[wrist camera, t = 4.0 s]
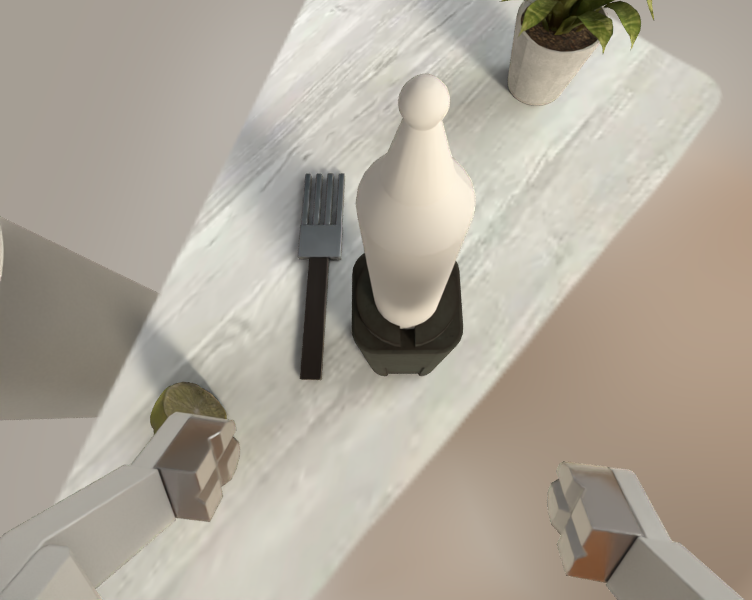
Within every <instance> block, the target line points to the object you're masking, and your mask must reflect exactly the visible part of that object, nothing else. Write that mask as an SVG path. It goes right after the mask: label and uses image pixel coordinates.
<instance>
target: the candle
mask: <svg viewBox="0 0 752 600" xmlns="http://www.w3.org/2000/svg"><path fill="white" fill-rule="evenodd" d="M449 105H450V96H449V92H448V89H447V87H446V85H445V84H444V83H443V82H442V81H441V80H440V79H439V78H437V77H436V76H434V75H431V74H420V75H417V76H415V77H413V78H412V79H410V80H409V81H408V82H407V83H406V84H405V85H404V86H403V88H402V90H401V92H400V94H399V99H398V107H399V111H400V113H401V115H402V117H403V119H402V121H401V123H400V125H399V128H398V130H397V132H396V134H395V137H394V139H393V141H392V143H391V145H390V148H389V150H388V152H387V153H386V154H384V155H383V156H382V157H380V158H379V159H377V160H376V161H375V162H373V164H372V165H371V166H370V167H369V168H368V169H367V171H366V172H365V173H364V175H363V177H362V179H361V181H360V184H359V186H358V191H357V197H356V210H357V217H358V222H359V227H360V232H361V236H362V241H363V246H364V251H365V253H364V254H363V255H361V256H360V257H359V258H358V260H357V261H356V263H355V265H354V267H353V273H352V335H353V338H354V340H355V342H356V344H357V346H358V347H359V349H360V350H361V352H362V353H363V355H364V357H365V358H366V360H367V361H368V363H369V364H370V366H371V368H372V369H373V370H374V372H376V373H377V374H379V375H381V376H387V375H388V374H416V373H417V374H419V376H424V375H427V374H429V373H430V372H431V371H432V370H433V369H434V368H435V367H436V366H437V365H438V364H439V363H440V362H441V361H442V360H443V359H444V358H445V357H446V356H447V355H448V354H449V353H450V352H451V351H452V350H453V349H454V348H455V347H456V346H457V344H458V343H459V341H460V340H461V337H462V334H463V317H462V303H461V288H460V273H459V267H458V264H457V262H456V259H457V256H458V254H459V251H460V249H461V246H462V244H463V241H464V239H465V237H466V234H467V232H468V229H469V227H470V224H471V221H472V219H473V216H474V213H475V192H474V188H473V184H472V181H471V179H470V177H469V175H468V174H467V172H466V170H465V169H464V168H463V167H462V166H461V165H460V164H459V163H458V162H457V161H456V160H455V159H454V158H453V157H452V156H451V152H450V148H449V144H448V141H447V137H446V133H445V129H444V125H443V122H442V119H443V118H444V117H445V115H446V114H447V112H448V109H449Z"/></svg>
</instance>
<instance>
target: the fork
mask: <svg viewBox="0 0 752 600" xmlns="http://www.w3.org/2000/svg"><path fill="white" fill-rule="evenodd" d="M311 186H312V176H311V174H305V186H304V197H303V208H302V220H301V225H300V236H299V248H298V258H299V259H309V270H308V283H307V295H306V308H305V320H304V333H303V346H302V358H301V371H300V379H301V380H322V368H323V352H324V336H325V320H326V305H327V289H328V273H329V260H341V253H342V235H343V227H342V225H343V207H344V189H345V175H344V173H341V174H339V180H338V196H337V213H336V225H331V218H332V202H333V187H334V175H333V174H328V177H327V191H326V206H325V220H324V225H320V213H321V200H322V186H323V176H322V174H317V175H316V188H315V201H314V214H313V225H308V223H309V210H310V198H311Z"/></svg>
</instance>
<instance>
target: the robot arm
mask: <svg viewBox="0 0 752 600" xmlns="http://www.w3.org/2000/svg"><path fill="white" fill-rule="evenodd" d="M235 432H236V426H235V422H234V421H233V420H228V419H222V418H215V417H209V416H202V415H196V414H188V413H181V412H175V413H173V414H172V415H170V416H169V417H168V418H167V420H166V421H165V422H164V423H163V425H162V426H161V427H160V428H159V430H158V431H157V432H156V433H155V435H154V436H153V437H152V438H151V440H150V441H149V442H148V443H147V445H146V446H145V447H144V448H143V450H142V451H141V452H140V454H139V455H138V456H137V457H136V459H135V460H134V461H133V462H132V464H131V465H123V466H121V467H119V468H118V469H116V470H114V471H112V472H111V473H109V474H107V475H105V476H104V477H102V478H100V479H98V480H97V481H95V482H93V483H91V484H90V485H88V486H86V487H85V488H83V489H81V490H79V491H78V492H76V493H74V494H72V495H71V496H69V497H67V498H65V499H64V500H62V501H60V502H58V503H57V504H55V505H53V506H51V507H50V508H48V509H46V510H44V511H43V512H41V513H39V514H38V515H36V516H34V517H32V518H31V519H29V520H27V521H25V522H24V523H22V524H20V525H18V526H17V527H15V528H13V529H11V530H10V531H8V532H7V533H5V534H3V535H2V536H1V537H0V600H102V598H101V597H100V595H99V594H98V592H97V591H96V588H97V587H99V586H100V585H101V584H102V583H103V582H104V581H106V580H107V579H108V578H109V577H110V576H111V575H113V574H114V573H115V572H116V571H117V570H118V569H120V568H121V567H122V566H123V565H124V564H125V563H127V562H128V561H129V560H130V559H131V558H132V557H134V556H135V555H136V554H137V553H138V552H139V551H141V550H142V549H143V548H144V547H145V546H146V545H148V544H149V543H150V542H151V541H152V540H153V539H155V538H156V537H157V536H158V535H159V534H160V533H162V532H163V531H164V530H165V529H166V528H167V527H169V526H170V525H171V524H172V523H173V522H174V521H176V518H181V519H189V520H198V521H206V522H210V521H211V519H212V517H213V515H214V513H215V511H216V509H217V507H218V505H219V503H220V501H221V499H222V497H223V493H222V488H221V487H222V486H223V485H225V484H226V483H227V482H229V481H230V480H231V479H232V477H233V475H234V473H235V471H236V469H237V465H238V461H239V458H240V446H239V442H238V441H237V440H236V439H235V438H234V437H233V435H234V434H235ZM556 472H557V475H558V478H559V479H558V480H556V481H554V482H552V483H551V485H550V488H549V490H548V497H547V507H548V514H549V518H550V521H551V525H552V526H553V527H554V528H555V529H556V530H557V531H558V532H559V533H560V535H561V536H560V539H559V541H558V543H557V546H558V550H559V553H560V556H561V560H562V563H563V567H564V570H565V574H566V576H571V577H576V578H582V579H588V580H593V581H599V582H604V583H606V586H607V587H608V589H609V590H610V591H611V593H612V594H613V595H614V597H615V598H616V599H617V600H744V599H743V598H742V597H741V596H740V595H739V594H737V593H736V592H735V591H734V590H733V589H732V588H731V587H729V586H728V585H727V584H726V583H725V582H724V581H723V580H722V579H720V578H719V577H718V576H717V575H716V574H715V573H714V572H712V571H711V570H710V569H709V568H708V567H707V566H706V565H704V564H703V563H702V562H701V561H700V560H699V559H698V558H696V557H695V556H694V555H693V554H692V553H691V552H690V551H689V550H687V549H686V548H685V547H684V546H683V545H682V544H681V543H679V542H673V541H672V540H671V538H670V537H669V535H668V533H667V531H666V529H665V528H664V526H663V524H662V522H661V520H660V518H659V516H658V515H657V513H656V511H655V509H654V507H653V506H652V504H651V502H650V500H649V498H648V496H647V494H646V493H645V491H644V489H643V487H642V485H641V484H640V482H639V480H638V479H637V477H636V475H635V473H633V472H632V471H631V470H628V469H620V468H612V467H605V466H598V465H589V464H581V463H572V462H562V463H560V464H559V466H558V468H557V471H556Z"/></svg>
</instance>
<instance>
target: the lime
mask: <svg viewBox="0 0 752 600" xmlns="http://www.w3.org/2000/svg"><path fill="white" fill-rule="evenodd" d="M175 412H181V413H188V414H196V415H202V416H209V417H215V418H222V419H227V415H226V412H225V410H224V408H223V407H222V405H221V404H220V402H219V401H218V400H217V399H216V398H215V397H214V396H213V395H212V394H211V393H210V392H208V391H206V390H205V389H203V388H201V387H200V386H199V385H197V384H193V383H190V382H180V383H176V384H174V385H172V386H169V387H168V388H166V389H165V390H164V391H163V393H162V394H161V395H160V397H159V398H158V400H157V401H156V403H155V405H154V407H153V409H152V412H151V416H150V423H151V426H152V428H153V429H154V435H155V433H156V432H157V431H158V430H159V428H160V427H161V426H162V425H163V423H164V422H165V421H166V420H167V418H168V417H169V416H170V415H172V414H173V413H175Z"/></svg>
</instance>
